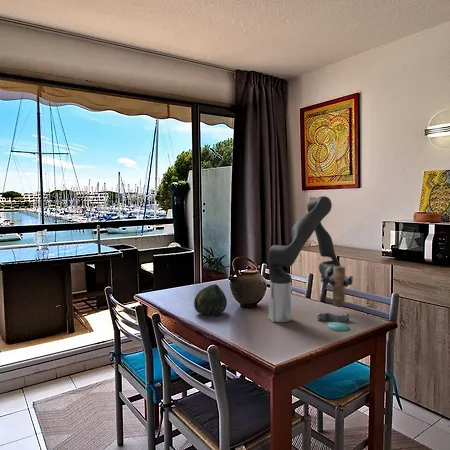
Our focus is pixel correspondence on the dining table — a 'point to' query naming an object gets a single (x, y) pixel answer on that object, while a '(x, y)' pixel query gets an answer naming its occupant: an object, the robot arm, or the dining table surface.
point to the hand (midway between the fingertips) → (339, 284)
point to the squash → (210, 301)
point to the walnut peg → (338, 285)
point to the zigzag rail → (333, 317)
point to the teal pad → (338, 326)
